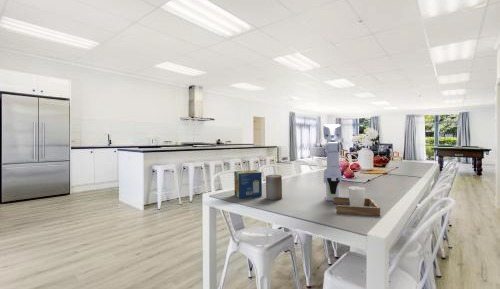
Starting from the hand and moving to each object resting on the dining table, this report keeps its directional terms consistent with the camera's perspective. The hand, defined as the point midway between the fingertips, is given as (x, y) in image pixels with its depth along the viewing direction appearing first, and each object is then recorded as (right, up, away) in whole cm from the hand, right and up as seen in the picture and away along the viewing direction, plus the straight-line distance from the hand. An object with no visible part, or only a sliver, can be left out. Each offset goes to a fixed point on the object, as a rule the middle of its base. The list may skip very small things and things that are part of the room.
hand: (332, 192), depth 125 cm
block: (-1, -2, 0) cm, 2 cm away
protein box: (-43, -9, +33) cm, 55 cm away
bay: (+11, -8, +1) cm, 14 cm away
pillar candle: (-27, -8, +25) cm, 38 cm away
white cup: (+14, -8, +4) cm, 17 cm away
